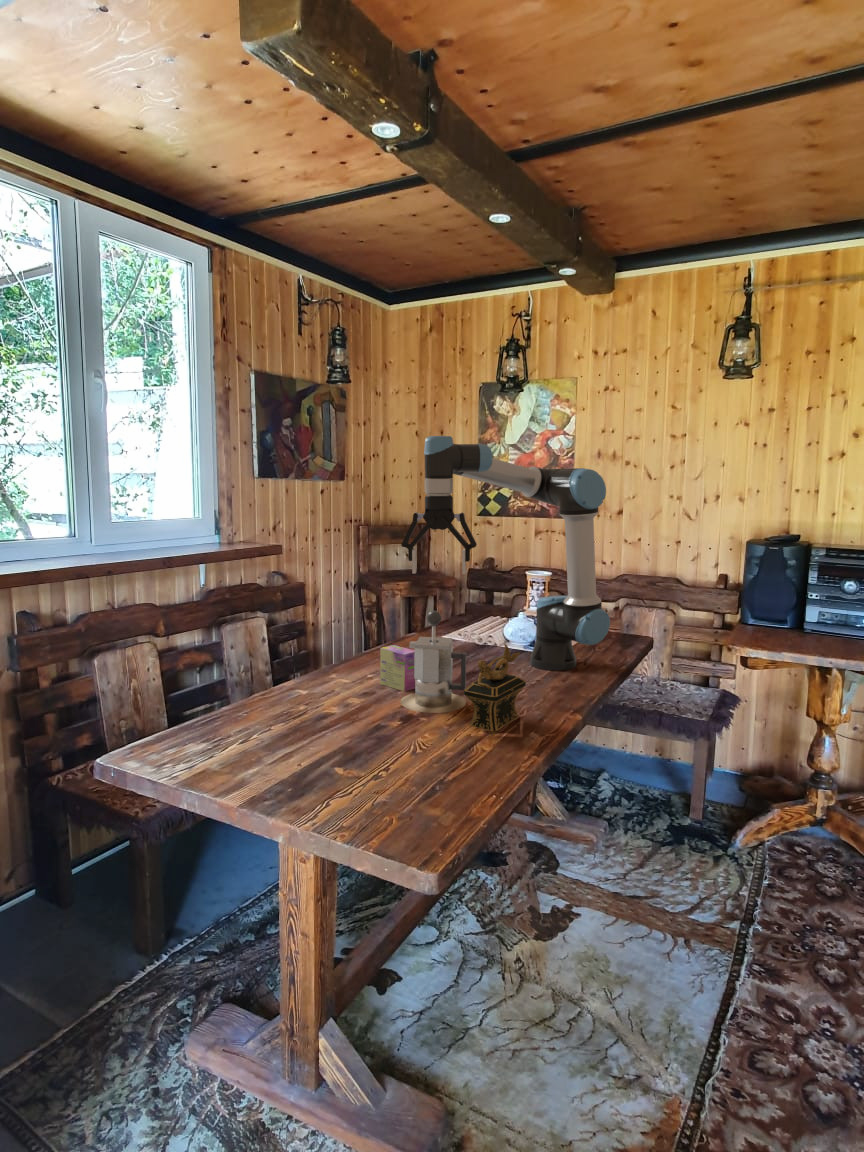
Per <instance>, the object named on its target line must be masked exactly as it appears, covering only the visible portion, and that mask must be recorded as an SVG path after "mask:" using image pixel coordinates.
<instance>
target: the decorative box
mask: <svg viewBox="0 0 864 1152" xmlns="http://www.w3.org/2000/svg"><path fill="white" fill-rule="evenodd" d="M503 645H504V651H503V654H502V656H498V657H496V658H494V659H492V661H491V662H489V663H488V664H487V663H486V662H487V661H486V660H484V659H480V660H478V662H477V667H478V670H479V674H478V678H477V680H475V681H473V682H471V683H470V684H469V685H467V686H466V688H465V689H464V690H463V694H464V697H466V698H467V699H468V700H469V701H470V702H471V703H472V705H473V710H474V711H473V716H472V719H471V720H470V721H469V726H471V727H473V728H477V729H482V732H483V733H487V734H492V735H496V734H499V733H500V732H499V731H500V730H501V729H503V728H504V727H505V726H508V725H509V724H510V723H512V722H514V721H516V720H518V719H519V718H520V717H519V715H518V712H517V710H516V699H517V697H518V695H519V694H520V692H521V691H522V690H523V689H524V688H525V687H526V684H527V683H526V680H524V679H523V678H521V677H519V676H518V675H515V674H509V673H507V672H508V670H509V663H512V662H515V661H516V660H517V658H518V657H519V656H520V654H521V653H520V652H521V651H520V652H519V651H517V652H515V653H512V654H511V650H510V648H509V647H508V644H506V643H505V642H504V644H503ZM495 662H496V664H495ZM494 664H495V666H494V669H492V668H491V667H492V666H493V665H494ZM484 730H486V731H484Z"/></svg>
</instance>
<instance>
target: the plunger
mask: <svg viewBox="0 0 864 1152" xmlns="http://www.w3.org/2000/svg"><path fill="white" fill-rule="evenodd" d="M426 621H427V623H428V624H429V625H430V626H431V637H432V642H436V636H437V635H436V634H437V632H436V630H437V629H436V627H437V626H438V625H439V624H440V623H441V622H442V615H441V613H440V612H439V611H438V610H431V611H429V612H428V613H427V614H426Z"/></svg>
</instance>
